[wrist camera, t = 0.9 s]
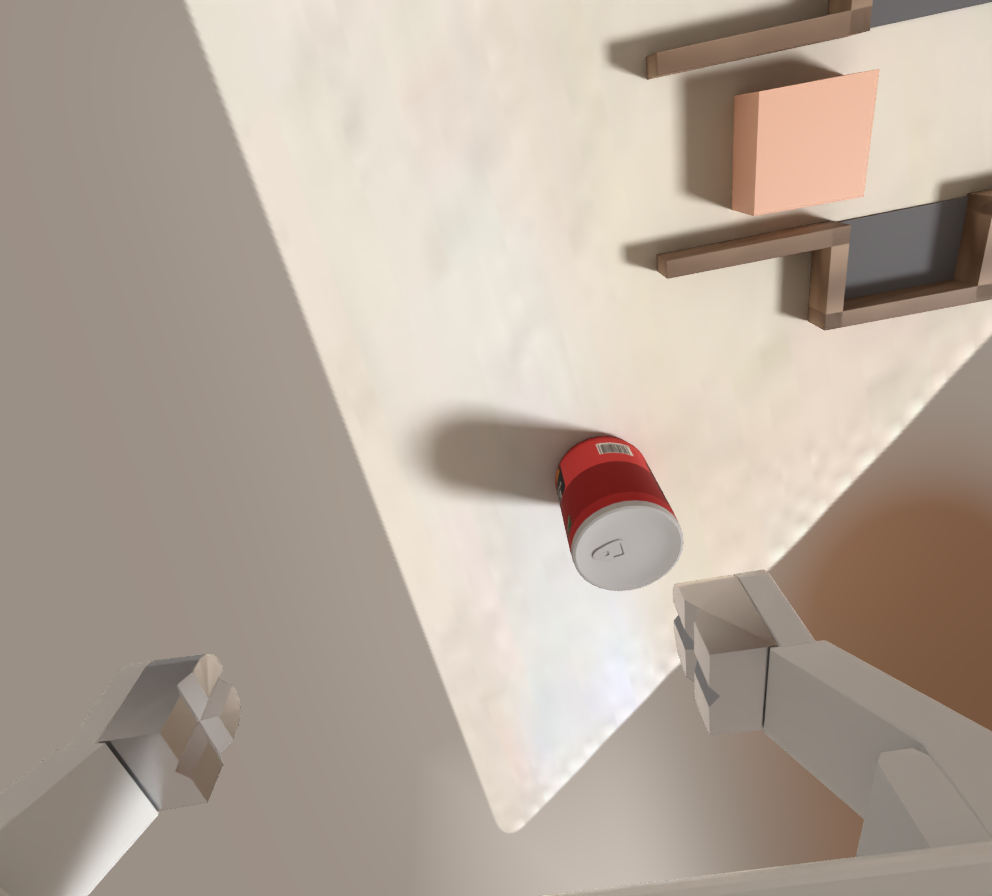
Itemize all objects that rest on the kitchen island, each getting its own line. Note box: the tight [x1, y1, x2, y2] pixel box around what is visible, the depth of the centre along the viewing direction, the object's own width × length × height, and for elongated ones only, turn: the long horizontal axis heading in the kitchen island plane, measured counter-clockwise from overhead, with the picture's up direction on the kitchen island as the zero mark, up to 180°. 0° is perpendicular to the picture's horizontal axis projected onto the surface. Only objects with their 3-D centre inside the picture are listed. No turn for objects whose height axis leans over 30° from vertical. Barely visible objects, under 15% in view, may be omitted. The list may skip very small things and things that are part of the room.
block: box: [732, 69, 879, 216], centre depth 38 cm, size 7×7×4 cm
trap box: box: [646, 0, 992, 330], centre depth 37 cm, size 25×31×4 cm
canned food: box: [555, 436, 683, 591], centre depth 46 cm, size 8×8×11 cm
